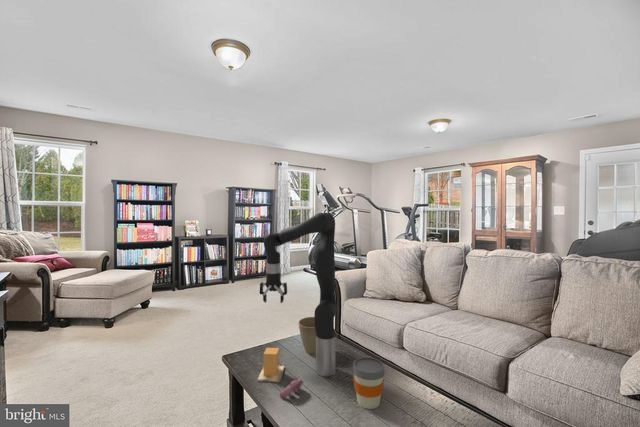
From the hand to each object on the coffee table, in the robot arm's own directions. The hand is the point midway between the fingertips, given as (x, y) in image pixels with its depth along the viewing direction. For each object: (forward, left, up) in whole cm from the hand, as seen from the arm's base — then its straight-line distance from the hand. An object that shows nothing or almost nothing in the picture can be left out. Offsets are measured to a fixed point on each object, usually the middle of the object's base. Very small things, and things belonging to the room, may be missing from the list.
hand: (273, 302), depth 158 cm
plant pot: (-20, -6, -28) cm, 35 cm away
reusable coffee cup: (-46, +35, -28) cm, 64 cm away
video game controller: (-15, +32, -28) cm, 45 cm away
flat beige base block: (-3, +18, -28) cm, 33 cm away
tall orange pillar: (-3, +18, -27) cm, 33 cm away
